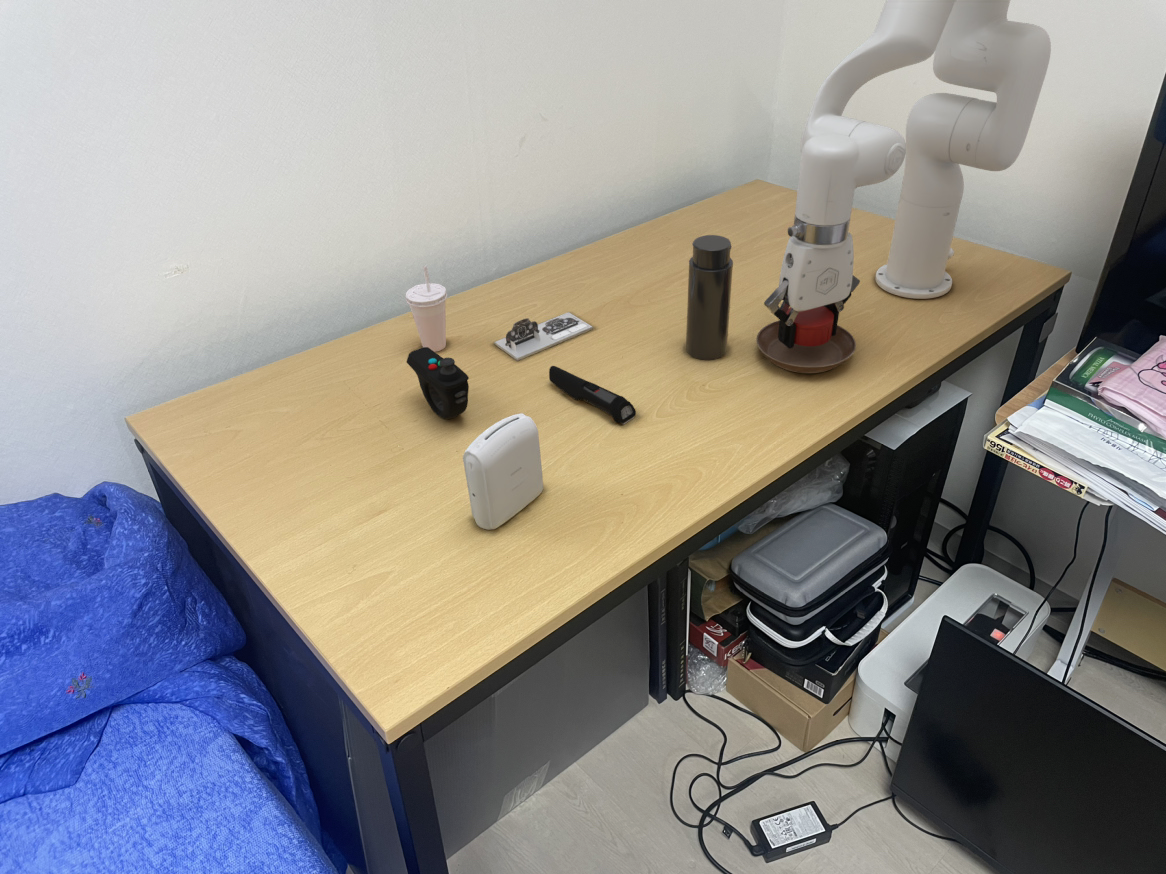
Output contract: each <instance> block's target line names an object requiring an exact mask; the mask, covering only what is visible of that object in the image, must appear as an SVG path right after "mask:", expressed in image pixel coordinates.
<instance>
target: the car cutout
mask: <svg viewBox="0 0 1166 874" xmlns="http://www.w3.org/2000/svg"><path fill="white" fill-rule="evenodd" d="M592 330H594V326H592V325H590V324H589V323H588V322H586V321H584V320H582V319H581V318H579V317H577V316H576V315H574V314H573V313H571V312H565V313H563V314H561V315H558V316H555V317H553V318H550V319H547V320H545V321H543V322H540V323H538V322H537V321H535V320H533V321H531V320H530V319H529V318H523V319H521V320H518V321H516V322H514V323H513V325H512V327H511V330H508V331H507V332H506V335H505V337H503V338H501V339H498V340H496V341H494V343H493V344H494V345H495V346H496V347H497V348H499V349H500V350H502V351H503V352H504V353H506V354H507V355H509V356H510V357H511V358H512V359H514V360H515V361H516V362H517V361H520V360H523V359H526V358H528V357H530V356H533V355H535V354H537V353H540V352H542V351H544V350H546V349H547V350H548V349H549V348H552V347H554V346H556V345H559V344H561V343H564V342H566V341H569V340H570V339H571V340H572V339H573V338H575V337H578V336H580V335H582V334H585V333H587V332H590V331H592Z"/></svg>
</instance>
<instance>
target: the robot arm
mask: <svg viewBox="0 0 1166 874" xmlns="http://www.w3.org/2000/svg"><path fill="white" fill-rule="evenodd" d="M1010 3H1011V0H885V2H884V4H883V7H882V9H881V12H880V14H879V17H878V20H877V23H876V25H875V27H874V30H873V32H872V34H871V35H870V36H869V38H868V39H867V40H866V41H864V42H863V43H862V44H860V45H859V46H858V47H856V48H855V49H853V50H852V51H851V52H850V53H849V54H848V55H846V56H845V57H844V58H843V59H842V60H841V61H840V63H838V64H837V65H836V66H835V67H834V68H833V70H832V71H830V73H829V74H828V75H827V76H826V78H825V79H824V80H823V81H822V83H821V85H820V87H819V89H817V93H816V95H815V97H814V100H813V101H812V105H811V108H810V109H809V113H808V115H807V118H806V121H805V123H804V127H803V130H802V133H801V138H800V139H801V140H800V154H801V156H800V163H799V164H800V165H799V173H798V182H797V192H796V199H795V200H796V201H795V211H794V219H793V225H792V226H789V227H788V228H787V235H788V236H789V238H788V241H787V244H786V247H785V249H784V250H785V251H784V255H783V258H782V263H781V267H780V273H779V279H778V286H777V288H775V290H774V291H773V292H772V293H771V294H770V295H769V296H768V297H767V298H766V300H764V303H763V305H764V307H766V308H767V310H768V311H769V312H770V313H771V314H772V315H773V316H774V317H776V318H777V319H778V321H779V320H780V321H779V330H778V339H779V341H780V342H782V343H783V344H784V345H785V346H787V347H788V348H793V346H794V341H795V333H796V325H795V324H794V323H793V322H794V320H795V318H796V317H797V315H798V313H799V312H801V311H806V310H810V309H814V308H817V307H821V306H824V307H826V308H828V309H830V310H831V311H832V313H833V315H834V321H833V328H832V335H831V336H834V335H836V330H837V325H839V324H838V323H839V318H840V312H842V311H843V310H844V309H845V304H846V303H847V302H848V300H849V299H850V298H851V297H852V293H854V291H855V290H856V288H858V286H859V285H860V283H861V280H860V279H859V278H858V277H856V275H854V257H855V253H854V252H855V251H854V240H853V235H852V233H851V232H849V230H850V224H851V218H852V211H853V205H854V197H855V190H856V189H857V188H860V187H861V188H862V187H865V186H871V185H876V184H880V183H883V182H885V181H886V180H888V179H890V178H891V177H893V176H894V175H895V174H896V173H897V172H898V171H899V169H900V168H901V166H902V165H903V163H904V168H903V169H904V170H903V176H902V183H901V189H900V194H899V198H898V204H897V208H896V214H895V220H894V225H893V230H892V231H893V232H892V235H891V242H890V247H889V252H888V257H887V261H886V262H887V263H885V264H883V265H882V266H880V267H879V268H878V269H877V270H876V273H875V282H876V284H877V286H878V287H880V289H882V290H884V291H885V292H887V293H889V294H892V295H894V296H898V297H902V298H906V299H914V300H916V299H917V300H928V299H934V298H938V297H942V296H944V295H945V294H948V292H950V291H951V288H952V286H953V285H952V284H953V279H952V277H951V275H950V274H949V273H948V272H947V271H946V269H947V268H946V267H947V264H948V260H950V259H951V258H953V257H954V255H955V251H954V249H953V248H952V243H953V238H954V234H955V229H956V225H957V220H958V216H959V213H960V208H961V203H962V199H963V195H964V191H965V190H964V189H965V182H964V176H963V171H962V168H961V166H960V165H962V166H967V167H969V168H974V169H978V170H983V171H989V172H1002V171H1005V170H1007V169H1009V168H1010V167H1011V166H1012V165H1014V163H1015V162H1016V161H1017V159H1018V157H1019V156H1020V154H1021V152H1022V150H1023V147H1024V145H1025V142H1026V139H1027V136H1028V133H1029V130H1030V126H1031V123H1032V121H1033V117H1034V113H1035V110H1036V107H1037V105H1038V101H1039V98H1040V94H1041V91H1042V89H1043V85H1044V81H1045V79H1046V75H1047V71H1048V68H1049V64H1050V59H1051V51H1052V45H1051V43H1052V42H1051V38H1050V35H1049V33H1048V32H1047V30H1046V29H1045V28H1043V27H1041V26H1040V25H1037V24H1034V23H1029V22H1022V21H1021V22H1020V21H1013V20H1009V19H1008V12H1009V11H1008V10H1009V7H1010ZM932 56H933V61H932V70H933V71H932V72H933V74H934V76H935V77H936V78H937V79H938V80H939V81H941V82H943V83H946V84H949V85H954V86H957V87H962V88H968V89H973V90H978V91H985V92H990V93H995V95H996V102H995V101H990V100H985V99H979V98H978V97H977V98H976V97H971V96H966V95H960V94H956V93H950V92H949V93H948V92H936V93H934V92H933V93H929V94H926V95H924V96H922V97H921V98H920V99H918V100H917V101H916V102H915V103H914V105H913V106H912V107H911V109H910V111H909V113H908V116H907V120H906V124H905V125H906V126H905V138H904V136H903V135H902V134H901V133H900V132H899V131H898V130H896V129H895V128H892V127H889V126H886V125H881V124H878V123H873V122H869V121H865V120H860V119H857V118H852V117H847V116H843V113H844V111H845V109H846V106H847V105H848V103H849V101H850V100H851V98H852V97H853V96H854V95H855V93H856V92H857V91H859V90H860V88H861V87H863V86H864V85H866V84H867V83H868V82H870V81H872V80H874V79H876V78H877V77H879V76H883V75H884V74H887V73H890V72H892V71H893V72H894V71H896V70H899V69H902V68H906V67H910V66H913V65H916V64H919V63H922V62H925V61H926V60H928V59H930V58H931V57H932ZM904 161H905V162H904ZM780 303H781V304H780ZM790 307H791V310H790V312H789V314H788V315H787V314H786V313H787V311H788V309H789V308H790Z"/></svg>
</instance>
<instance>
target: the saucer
mask: <svg viewBox="0 0 1166 874" xmlns="http://www.w3.org/2000/svg"><path fill="white" fill-rule="evenodd" d="M779 321H780V320H779V319H778V320H776V321H773V322H769V324H767V325H765V326H764V327H762V328H761V329H760V330H759V331H758V332H757V335H756V338H755V339H756V341H755V342H756V345H757V347H758V349H759V351H760V352H761V353H762V355H763V356H764V357H765V358H766V359H767V360H768V361H770V362H771V363H773V364H774V365H776V366H777V367H779V368H781V369H784V370H785V371H789V372H793V373H798V374H818V373H824V372H829V371H830V370H833V369H835V368H837V367H839V366H841V365H842V364H844V363H845V362H847V360H849V359H850V357H852V356H853V354H854V353H855V351H856V350H857V349H856V348H857V342H856V339H855V338H854V336H853V335H852V333H850V332H849V331H848V330H847V329H845V328H844V327H841V326H840V325H839V324H837V330H836V335H834V336H831V338H830V340H829V341H828V342H827V343H825V344H823V345H819V346H801V345H797V344H794V346H793V348H788V347H787V346H785V345H784V344H783V343H782V342H780V341H779V339H778V330H779Z"/></svg>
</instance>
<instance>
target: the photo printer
mask: <svg viewBox="0 0 1166 874" xmlns="http://www.w3.org/2000/svg"><path fill="white" fill-rule="evenodd" d="M540 445H541V444H540V434H539V429H538V426H537V424H536V422H535V421H534V419H532V417H531V416H528V415H525V413H523V412H521V413H516V414H512V415H510V416H507V417H505V418H502V419H501V420H499V421H497V422H495V423H494V424H492V425H491V426H489V427H488V428H487V429H485V430H484V431H483V432H481V433H480V434H479V435H478V436H477V437H475V439H474V440H473V441H472V442H471V443H470V444H469V445H468V446H467V448H466V449H465V451H464V452H463V455H462V461H463V466H464V473H465V479H466V486H467V492H468V499H469V504H470V511H471V515H472V518H473V519H474V521H475V524H476V525H477V526H478V527H479V528H481V529H483V530H486V531H492V530H496V529H497V528H499V527H501V526H502V525H504V524H505V523H506V522H508V521H509V520H510V519H512V518H513V517H515V515H517V514H518V513H519V512H521V511H522V510H523V509H524V508H526V507H527V506H528V505H530V504H531V503H532V502H533V501H534V500H535V499H537V497H539V496H540V495H541V494H542V493H543V491H544V479H543V477H544V476H543V467H542V466H543V465H542V455H541V446H540Z"/></svg>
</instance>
